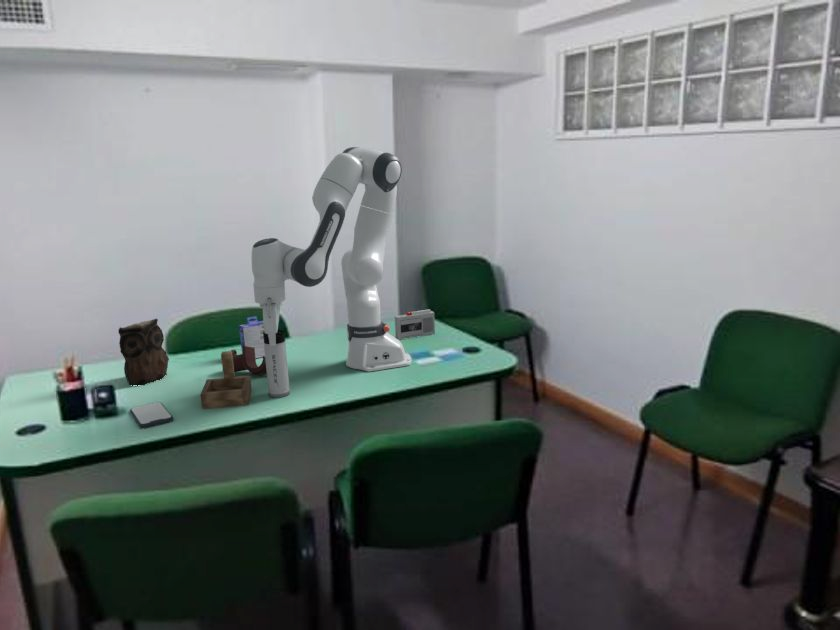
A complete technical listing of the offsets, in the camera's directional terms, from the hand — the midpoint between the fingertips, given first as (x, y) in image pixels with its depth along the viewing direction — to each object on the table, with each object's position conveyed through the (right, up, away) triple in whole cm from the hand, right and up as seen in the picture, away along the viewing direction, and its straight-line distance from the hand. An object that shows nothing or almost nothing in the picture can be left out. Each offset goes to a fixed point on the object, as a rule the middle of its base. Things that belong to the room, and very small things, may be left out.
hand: (273, 340), depth 188 cm
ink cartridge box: (-16, -8, +42) cm, 45 cm away
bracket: (-13, -12, +24) cm, 30 cm away
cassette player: (+42, -1, +61) cm, 74 cm away
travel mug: (+1, -17, +4) cm, 17 cm away
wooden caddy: (-14, -17, +3) cm, 23 cm away
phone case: (-32, -22, -9) cm, 40 cm away
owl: (-47, -14, +22) cm, 54 cm away
